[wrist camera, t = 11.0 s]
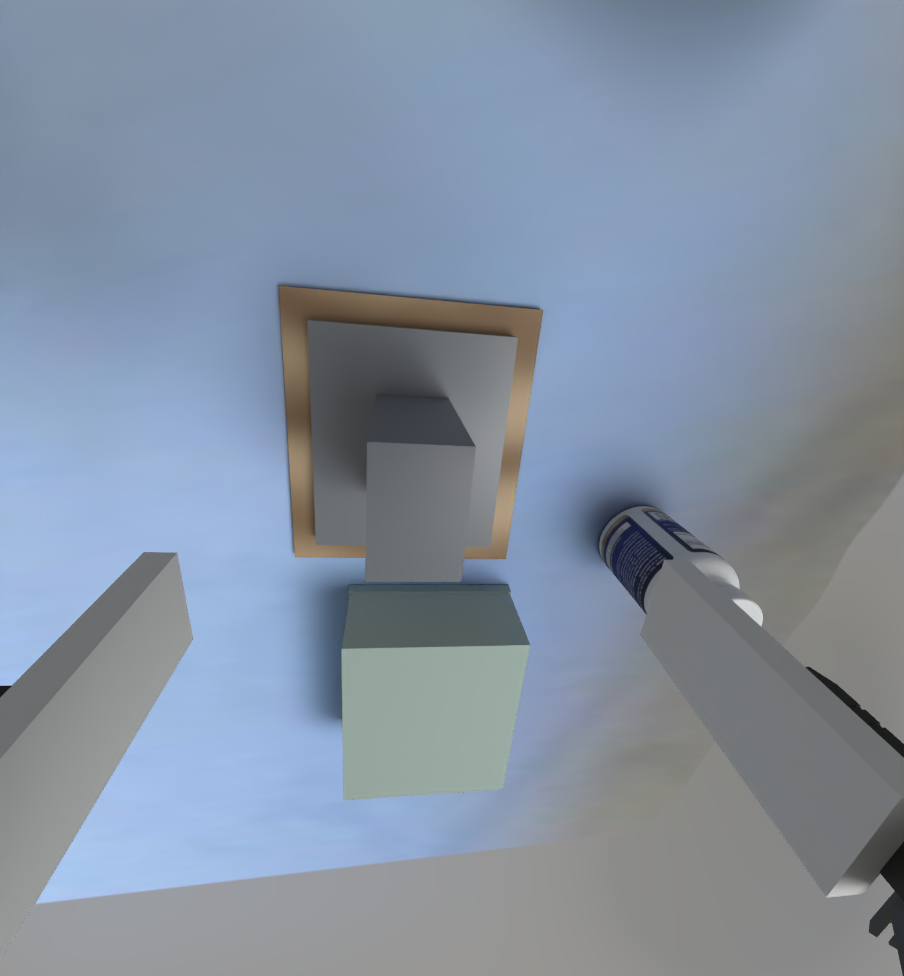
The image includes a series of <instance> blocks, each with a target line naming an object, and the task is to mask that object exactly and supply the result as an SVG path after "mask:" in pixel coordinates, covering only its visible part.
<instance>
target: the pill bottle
mask: <svg viewBox="0 0 904 976" xmlns="http://www.w3.org/2000/svg"><path fill="white" fill-rule="evenodd" d="M599 550H600V554H601V557H602V559H603V561H604V563H605V564H606V565H607V567H608V568H609V569H610V570H611V572H612V573H613V574H614V575H615V576H616V578H617V579H618V580H619V581H620V583H621V584H622V585H623V586H624V587H625V589H626V590H627V591H628V592H629V593H630V595H631V596H632V597H633V598H634V600H635V601H636V602H637V603H638V605H639V606H640V607H641V608H642V610H643V611H644V612H645V613H646V615H647V612H648V609H649V606H650V603H651V600H652V597H653V594H654V590H655V587H656V584H657V581H658V578H659V575H660V572H661V569H662V565H663V562H664V560H689V561H690V562H691V563H692V564H694V565H695V566H696V567H697V568H698V569H699V570H700V571H701V572H702V573H703V574H704V575H705V576H707V577H708V578H709V579H710V580H711V581H712V582H713V583H714V584H715V585H716V586H717V587H719V588H720V589H721V590H722V591H723V592H724V593H725V594H726V595H727V596H728V597H729V598H730V599H732V600H733V601H734V602H735V603H736V604H737V605H738V606H739V607H740V608H741V609H742V610H744V611H745V612H746V613H747V614H748V615H749V616H750V617H751V618H752V619H753V620H754V621H755V622H757V623H758V624H759V625H760V626H762V621H763V615H762V611H761V609H760V607H759V606H758V605H757V604H756V603H755V602H754V601H753V600H752V599H751V598H749V597H748V596H747V595H746V594H745V593H744V592H742V591H741V590H740V589H739V580H738V577H737V575H736V573H735V571H734V569H733V568H732V567H731V566H730V565H729V564H728V563H727V562H726V561H725V560H724V559H723V558H721V557H720V556H719V555H718V554H716V553H715V552H714V551H712V550H711V549H710V548H709V547H707V546H706V545H705V544H703V543H702V542H701V541H700V540H698V539H697V538H696V537H695V536H693V535H692V534H691V533H689V532H688V531H687V530H685V529H684V528H683V527H682V526H680V525H679V524H678V523H676V522H675V521H674V520H673V519H671V518H670V517H669V516H667V515H666V514H665V513H663V512H661V511H660V510H658V509H656V508H653V507H648V506H639V507H633V508H630V509H627V510H625V511H623V512H621V513H620V514H618V515H617V516H615V517H614V518H613V519H612V520H611V521H610V522H609V523H608V524H607V525H606V527H605V528H604V530H603V532H602V535H601V537H600V542H599Z"/></svg>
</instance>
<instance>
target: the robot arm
mask: <svg viewBox="0 0 904 976" xmlns="http://www.w3.org/2000/svg"><path fill="white" fill-rule="evenodd" d="M640 635H641V636H642V638H643V639H644V641H645V642H646V643H647V645H648V646H649V648H650V649H651V650H652V652H653V653H654V655H655V656H656V658H657V659H658V660H659V662H660V663H661V665H662V666H663V667H664V669H665V670H666V672H667V673H668V675H669V676H670V677H671V679H672V680H673V682H674V683H675V684H676V686H677V687H678V689H679V690H680V691H681V693H682V694H683V696H684V697H685V699H686V700H687V701H688V703H689V704H690V706H691V707H692V708H693V710H694V711H695V713H696V714H697V716H698V717H699V718H700V720H701V721H702V723H703V724H704V725H705V727H706V728H707V730H708V731H709V732H710V734H711V735H712V737H713V738H714V740H715V741H716V742H717V744H718V745H719V746H720V748H721V749H722V751H723V752H724V754H725V755H726V757H727V758H728V759H729V760H730V762H731V764H732V765H733V766H734V768H735V769H736V771H737V772H738V773H739V775H740V776H741V778H742V779H743V781H744V782H745V783H746V785H747V786H748V787H749V789H750V790H751V792H752V793H753V794H754V796H755V798H756V799H757V800H758V802H759V803H760V805H761V806H762V807H763V809H764V810H765V812H766V813H767V815H768V816H769V817H770V819H771V820H772V822H773V823H774V824H775V826H776V827H777V829H778V830H779V831H780V833H781V834H782V836H783V837H784V838H785V840H786V841H787V843H788V844H789V845H790V847H791V848H792V850H793V851H794V852H795V854H796V855H797V857H798V858H799V860H800V861H801V863H802V864H803V865H804V867H805V868H806V870H807V871H808V872H809V874H810V875H811V877H812V878H813V880H814V881H815V882H816V884H817V885H818V886H819V888H820V889H821V891H822V892H823V894H824V895H825V896H826V897H836V896H846V895H856V894H864V892H865V891H866V890H867V889H868V888H869V886H870V885H871V884H872V883H873V881H874V880H875V879H876V878H877V877H878V875H879V874H880V873H881V875H882V876H883V877H884V878H885V879H886V881H887V882H888V883H889V884H890V885H891V887H892V888H893V889H894V890H895V892H894V893H893V894H892V895H891V897H890V898H889V899H888V900H887V901H886V902H885V903H884V905H883V906H882V907H881V908H880V909H879V911H878V912H877V913H876V914H875V915H874V916H873V918H872V919H871V920H870V925H869V932H870V933H871V934H873V935H874V936H876V937H878V936H879V934H880V933H881V932H882V931H883V930H884V929H885V928H886V927H887V925H888V924H889V923H892V925H893V930H894V936H893V937H892V938H891V940H890V941H889V945H891V946H893V947H894V948H896V949H898V954H899V959H900V964H901V968H902V973H903V976H904V744H903V743H902V742H901V741H900V740H898V739H897V738H896V737H895V736H894V735H893V734H892V733H891V732H889V731H888V730H887V729H886V728H882V727H881V726H880V723H879V722H878V721H877V720H876V719H875V718H874V717H873V716H872V715H870V714H869V713H868V712H867V711H866V710H862V709H861V708H860V705H859V704H858V703H857V702H856V701H855V700H854V699H853V698H851V697H850V696H849V695H848V694H847V693H846V692H845V691H844V690H842V689H841V688H840V687H839V686H838V685H837V684H835V683H834V682H832V681H831V680H829V679H827V678H826V677H824V676H822V675H821V674H820V673H818V672H816V671H815V670H813V669H812V668H810V667H804V666H803V665H802V664H801V663H800V662H799V661H798V660H797V659H796V658H794V656H792V655H791V654H790V653H789V652H788V651H787V650H786V649H785V648H784V647H783V646H782V645H780V644H779V643H778V642H777V641H776V640H775V639H774V638H773V637H772V636H771V635H770V634H769V633H767V632H766V631H765V630H764V629H763V628H762V627H761V626H760V625H759V624H758V623H757V622H755V621H754V620H753V619H752V618H751V617H750V616H749V615H748V614H747V613H746V612H745V611H744V610H742V609H741V608H740V607H739V606H738V605H737V604H736V603H735V602H734V601H733V600H732V599H730V598H729V597H728V596H727V595H726V594H725V593H724V592H723V591H722V590H721V589H720V588H719V587H717V586H716V585H715V584H714V583H713V582H712V581H711V580H710V579H709V578H708V577H707V576H705V575H704V574H703V573H702V572H701V571H700V570H699V569H698V568H697V567H696V566H695V565H694V564H692V563H691V562H690V561H689V560H664V562H663V565H662V569H661V572H660V575H659V578H658V581H657V584H656V587H655V590H654V594H653V597H652V600H651V603H650V606H649V609H648V612H647V615H646V618H645V622H644V625H643V628H642V631H641V634H640ZM192 640H193V636H192V631H191V625H190V620H189V614H188V609H187V604H186V598H185V593H184V587H183V582H182V576H181V571H180V566H179V560H178V555H177V553H161V552H144V553H143V554H142V555H141V556H140V557H139V558H138V559H137V560H136V561H135V562H134V563H133V564H132V565H131V566H130V567H129V568H128V569H127V570H126V571H125V572H124V573H123V574H122V575H121V576H120V577H119V578H118V579H117V580H116V581H115V582H114V583H113V584H112V585H111V586H110V587H109V588H108V589H107V590H106V591H105V592H104V593H103V594H102V595H101V596H100V597H99V598H98V599H97V600H96V601H95V602H94V603H93V604H92V605H91V606H90V607H89V608H88V609H87V610H86V611H85V612H84V613H83V614H82V615H81V616H80V617H79V618H78V619H77V620H76V621H75V622H74V624H73V625H72V626H71V627H70V628H69V629H68V630H67V631H66V632H65V633H64V634H63V635H62V636H61V637H60V638H59V639H58V640H57V641H56V642H55V643H54V644H53V645H52V646H51V647H50V648H49V649H48V650H47V651H46V652H45V653H44V654H43V655H42V656H41V657H40V658H39V659H38V660H37V661H36V662H35V663H34V664H33V665H32V666H31V667H30V668H29V669H28V670H27V671H26V672H25V673H24V674H23V675H22V676H21V677H20V678H19V679H18V680H17V681H16V682H15V683H14V684H13V685H12V686H0V962H1V960H2V958H3V957H4V955H5V953H6V952H7V950H8V948H9V946H10V945H11V943H12V941H13V940H14V938H15V937H16V935H17V933H18V932H19V930H20V928H21V926H22V925H23V923H24V921H25V920H26V918H27V916H28V915H29V913H30V911H31V910H32V908H33V906H34V905H35V903H36V901H37V900H38V898H39V896H40V895H41V893H42V891H43V890H44V888H45V886H46V885H47V883H48V881H49V880H50V878H51V876H52V875H53V873H54V871H55V870H56V868H57V866H58V865H59V863H60V861H61V860H62V858H63V856H64V854H65V853H66V851H67V849H68V848H69V846H70V844H71V843H72V841H73V839H74V838H75V836H76V834H77V833H78V831H79V829H80V828H81V826H82V824H83V823H84V821H85V819H86V818H87V816H88V814H89V813H90V811H91V809H92V808H93V806H94V804H95V803H96V801H97V799H98V798H99V796H100V794H101V793H102V791H103V789H104V787H105V786H106V784H107V782H108V781H109V779H110V777H111V776H112V774H113V772H114V771H115V769H116V767H117V766H118V764H119V762H120V761H121V759H122V757H123V756H124V754H125V752H126V751H127V749H128V747H129V746H130V744H131V742H132V741H133V739H134V737H135V736H136V734H137V732H138V731H139V729H140V727H141V726H142V724H143V722H144V720H145V719H146V717H147V715H148V714H149V712H150V710H151V709H152V707H153V705H154V704H155V702H156V700H157V699H158V697H159V695H160V694H161V692H162V690H163V689H164V687H165V685H166V684H167V682H168V680H169V679H170V677H171V675H172V674H173V672H174V670H175V669H176V667H177V665H178V664H179V662H180V660H181V659H182V657H183V655H184V653H185V652H186V650H187V648H188V647H189V645H190V643H191V642H192Z"/></svg>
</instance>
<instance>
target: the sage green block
mask: <svg viewBox="0 0 904 976" xmlns="http://www.w3.org/2000/svg"><path fill="white" fill-rule="evenodd" d="M510 594H511V590H510V588H509V585H349V591H348V609H347V615H346V622H345V628H344V635H343V641H342V648H341V658H342V727H343V797H344V800H355V799H370V798H385V797H400V796H415V795H429V794H444V793H459V792H474V791H489V790H503V785H504V779H505V774H506V769H507V764H508V758H509V753H510V748H511V743H512V737H513V732H514V727H515V722H516V716H517V711H518V706H519V701H520V695H521V690H522V685H523V680H524V674H525V669H526V664H527V659H528V653H529V648H530V644H529V641H528V639H527V636H526V633H525V631H524V628H523V626H522V623H521V621H520V618H519V616H518V613H517V611H516V608H515V606H514V603H513V601H512V598H511V595H510Z"/></svg>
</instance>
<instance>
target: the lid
mask: <svg viewBox="0 0 904 976" xmlns="http://www.w3.org/2000/svg"><path fill="white" fill-rule="evenodd" d="M307 323H308V349H309V376H310V402H311V428H312V455H313V481H314V508H315V534H316V545H366V580H365V582H461V580H462V571H463V561H464V552H465V547H490V545H491V538H492V530H493V523H494V515H495V508H496V500H497V493H498V485H499V477H500V470H501V462H502V455H503V447H504V440H505V432H506V425H507V417H508V410H509V402H510V395H511V387H512V380H513V372H514V365H515V357H516V350H517V342H518V337H515V336H505V335H493V334H481V333H469V332H457V331H444V330H432V329H420V328H408V327H396V326H384V325H372V324H359V323H347V322H335V321H323V320H307Z"/></svg>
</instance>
